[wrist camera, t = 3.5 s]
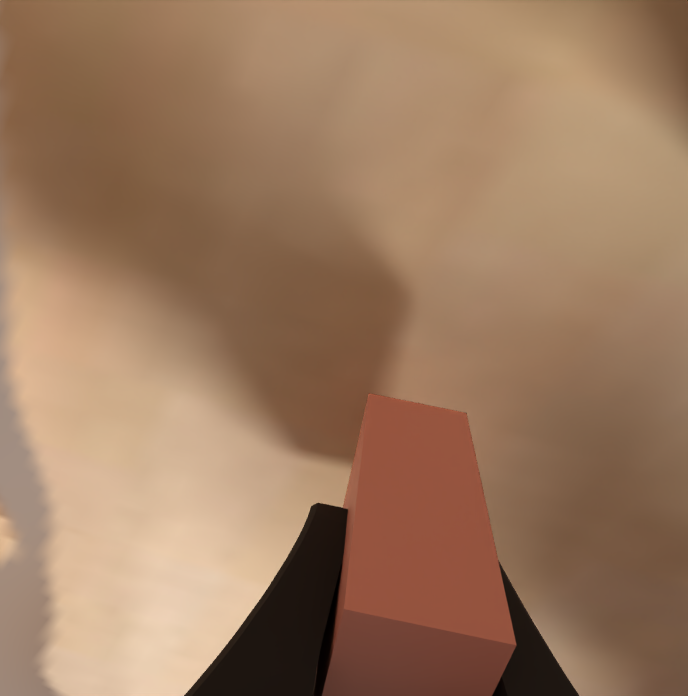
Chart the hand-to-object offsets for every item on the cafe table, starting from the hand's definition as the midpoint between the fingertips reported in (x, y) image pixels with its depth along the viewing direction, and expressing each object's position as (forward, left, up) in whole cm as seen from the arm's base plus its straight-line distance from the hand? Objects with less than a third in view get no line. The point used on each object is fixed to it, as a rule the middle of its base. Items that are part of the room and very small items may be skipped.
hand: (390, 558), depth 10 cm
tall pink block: (0, 0, -2) cm, 2 cm away
